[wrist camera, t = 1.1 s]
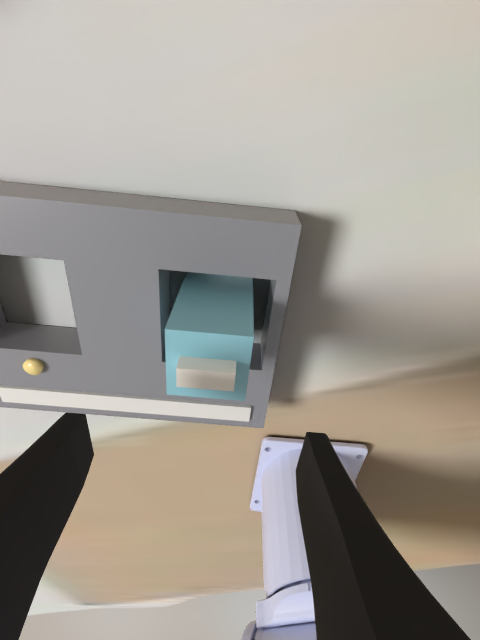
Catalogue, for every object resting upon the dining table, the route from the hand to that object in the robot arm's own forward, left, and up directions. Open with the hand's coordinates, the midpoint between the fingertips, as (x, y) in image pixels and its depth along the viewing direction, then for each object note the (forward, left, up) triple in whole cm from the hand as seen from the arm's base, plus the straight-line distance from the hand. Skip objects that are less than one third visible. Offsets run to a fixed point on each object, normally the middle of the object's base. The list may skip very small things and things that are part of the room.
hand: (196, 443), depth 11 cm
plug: (0, 0, -10) cm, 10 cm away
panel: (-1, +5, -10) cm, 11 cm away
